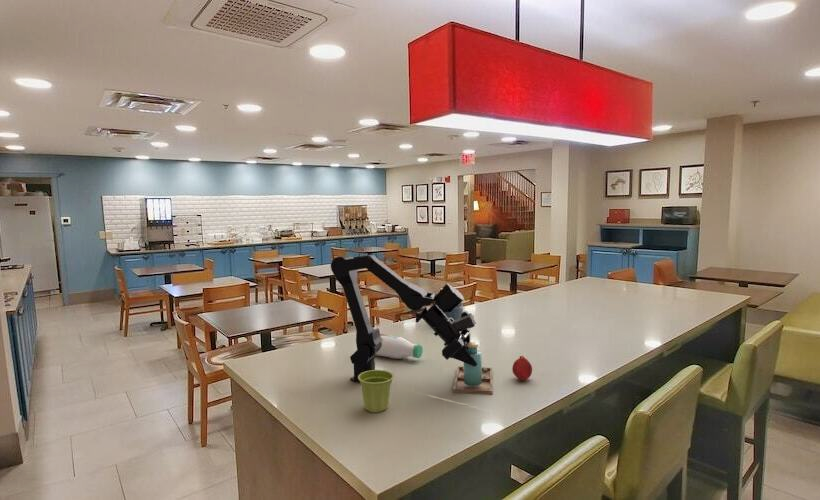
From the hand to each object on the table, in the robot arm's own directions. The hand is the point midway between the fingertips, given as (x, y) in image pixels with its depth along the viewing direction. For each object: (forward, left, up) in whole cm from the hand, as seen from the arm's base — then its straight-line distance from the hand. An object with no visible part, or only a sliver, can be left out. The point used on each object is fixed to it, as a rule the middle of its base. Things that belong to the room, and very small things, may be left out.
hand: (477, 362), depth 127 cm
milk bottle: (+10, +47, -4) cm, 48 cm away
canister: (+62, +44, -8) cm, 77 cm away
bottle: (0, +1, -6) cm, 6 cm away
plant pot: (-26, +17, -8) cm, 32 cm away
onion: (+12, -9, -8) cm, 17 cm away
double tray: (+4, +3, -8) cm, 9 cm away
